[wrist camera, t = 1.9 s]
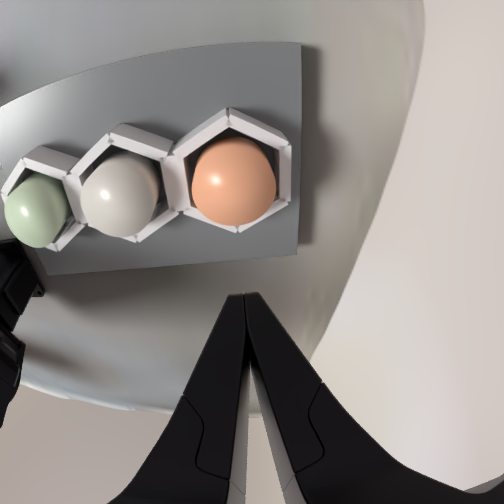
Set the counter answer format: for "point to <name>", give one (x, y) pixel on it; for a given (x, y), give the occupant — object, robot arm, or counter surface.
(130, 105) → the button panel
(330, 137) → the counter surface
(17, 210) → the sage button
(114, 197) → the grey button
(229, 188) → the terracotta button
